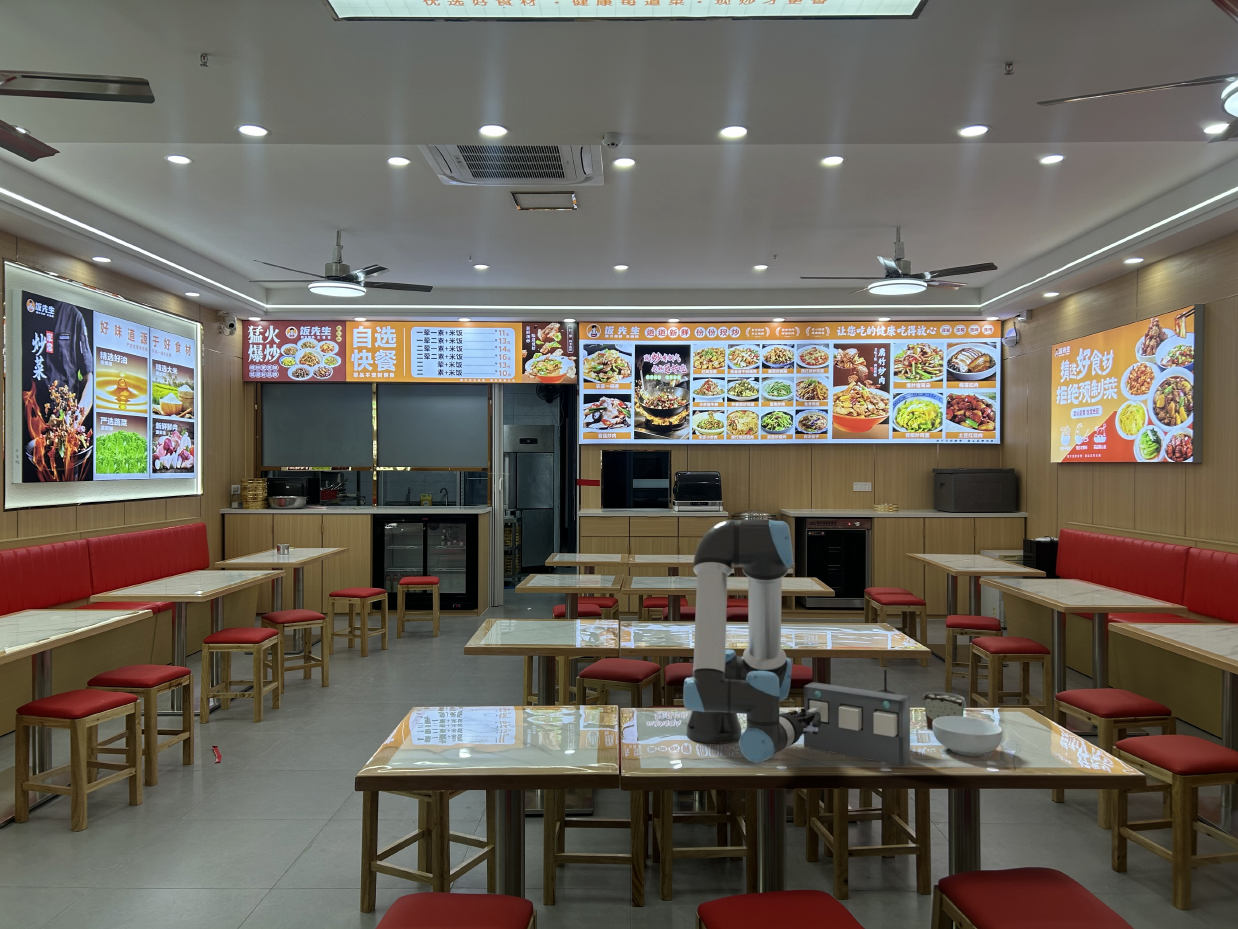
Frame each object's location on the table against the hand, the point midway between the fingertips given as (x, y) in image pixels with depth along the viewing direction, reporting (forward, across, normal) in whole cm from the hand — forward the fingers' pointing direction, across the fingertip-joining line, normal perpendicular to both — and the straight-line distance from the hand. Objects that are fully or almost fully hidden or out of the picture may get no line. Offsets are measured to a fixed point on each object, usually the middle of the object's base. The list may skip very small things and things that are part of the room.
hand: (818, 711), depth 218 cm
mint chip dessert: (+40, +23, -10) cm, 47 cm away
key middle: (-1, +9, -3) cm, 9 cm away
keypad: (+3, +9, -10) cm, 14 cm away
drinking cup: (+15, +13, -10) cm, 22 cm away
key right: (0, +18, -2) cm, 18 cm away
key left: (+2, 0, -2) cm, 3 cm away
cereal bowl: (+22, +32, -10) cm, 40 cm away
